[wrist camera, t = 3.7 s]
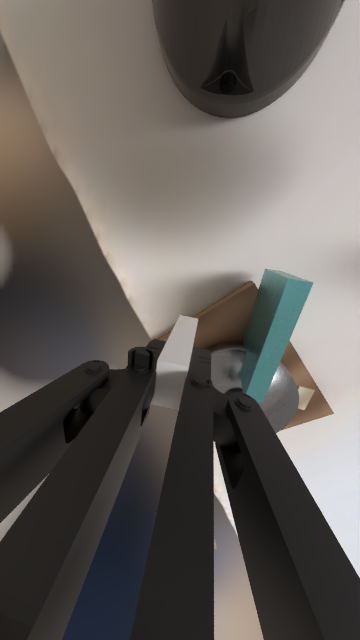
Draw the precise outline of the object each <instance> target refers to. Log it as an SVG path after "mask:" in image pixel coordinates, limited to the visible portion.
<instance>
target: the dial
mask: <svg viewBox="0 0 360 640" xmlns="http://www.w3.org/2000/svg"><path fill="white" fill-rule="evenodd" d="M312 285H313V282H310V281H307V280H304V279H302V278H299V277H296V276H293V275H290V274H287V273H285V272H282V271H276V270H270V269H265V271H264V274H263V278H262V281H261V284H260V287H259V290H258V293H257V297H256V300H255V303H254V306H253V309H252V313H251V316H250V319H249V322H248V325H247V328H246V332H245V335H244V338H243V341H236V340H235V341H226V342H221V343H217V344H214V345H212V346H210V347H208V348H206V349H207V350H209V352H210V353H211V381H212V383H213V386H214V387H215V388H216V389H217V390H218V391H220V392H221V393H223V394H225V395H227V396H230V394H232V393H234V392H241V393H245V394H247V395H249V396H251V397H252V398H254V399H255V400H256V401H257V403H258V404H259V405H260V407H261V409H262V411H263V412H264V414H265V416H266V417H267V419H268V421H269V423H270V424H271V426H272V428H273V430H274V431H275V433H277V432H279V431H280V430H282V429H283V428H284V427H285V426H287V425H288V424H289V423H290V421H291V420H292V419H293V417H294V416H295V414H296V412H297V409H298V405H299V392H298V388H297V385H296V383H295V381H294V379H293V378H292V376H291V374H290V373H289V371H288V369H287V368H286V366H285V364H284V363H283V362H282V360H281V358H282V356H283V354H284V351H285V349H286V347H287V344H288V342H289V339H290V337H291V335H292V332H293V330H294V328H295V325H296V323H297V320H298V318H299V316H300V313H301V311H302V309H303V306H304V304H305V301H306V299H307V297H308V294H309V292H310V290H311V287H312Z"/></svg>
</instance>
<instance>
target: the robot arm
mask: <svg viewBox="0 0 360 640" xmlns="http://www.w3.org/2000/svg"><path fill="white" fill-rule="evenodd" d="M344 1H345V0H152V3H153V11H154V18H155V23H156V28H157V32H158V36H159V40H160V44H161V48H162V52H163V55H164V59H165V62H166V65H167V67H168V70H169V72H170V74H171V76H172V78H173V80H174V82H175V84H176V85H177V87H178V88H179V90H180V91H181V93H182V94H183V95H184V96H185V97H186V98H187V99H188V100H189V101H190V102H191V103H192V104H193V105H195V106H196V107H197V108H199V109H201V110H203V111H204V112H207V113H209V114H212V115H215V116H220V117H238V116H243V115H247V114H251V113H253V112H256V111H258V110H260V109H262V108H264V107H266V106H268V105H269V104H271V103H272V102H274V101H275V100H277V99H278V98H279V97H281V96H282V95H283V94H284V93H285V92H286V91H288V90H289V89H290V88H291V87H292V86H293V85H294V84H295V82H296V81H297V80H298V79H299V78H300V77H301V76H302V74H303V73H304V72H305V71H306V69H307V68H308V67H309V65H310V64H311V62H312V61H313V59H314V58H315V56H316V55H317V53H318V51H319V50H320V48H321V46H322V44H323V42H324V40H325V39H326V37H327V35H328V33H329V31H330V29H331V27H332V25H333V24H334V22H335V20H336V18H337V16H338V14H339V12H340V10H341V8H342V6H343V3H344ZM197 323H198V319H197V318H192V317H187V316H182V315H180V316H179V318H178V320H177V322H176V324H175V326H174V328H173V330H172V332H171V334H170V336H169V338H168V340H167V341H162V340H158V339H154V340H152V341H150V342H149V344H148V345H147V347H135V348H132V349H131V350H129V352H128V366H127V367H126V369H119V370H112V369H109V366H108V364H107V363H106V362H104V361H100V360H93V361H88V362H85V363H83V364H81V365H80V366H78V367H76V368H75V369H73V370H71V371H70V372H68V373H66V374H64V375H63V376H61V377H59V378H58V379H56V380H54V381H53V382H51V383H49V384H48V385H46V386H44V387H43V388H41V389H39V390H37V391H36V392H34V393H33V394H31V395H29V396H27V397H25V398H24V399H22V400H20V401H19V402H17V403H15V404H14V405H12V406H10V407H9V408H7V409H5V410H3V411H2V412H0V523H1V522H2V521H3V520H4V519H5V518H6V517H7V516H8V515H9V514H10V513H11V512H12V511H13V510H14V508H16V507H17V506H18V505H19V504H20V503H21V501H23V500H24V498H25V497H26V496H27V495H28V494H29V493H30V492H31V491H32V490H33V489H34V488H35V487H36V486H37V485H38V484H39V483H40V482H41V481H42V480H43V479H44V478H45V477H46V476H47V475H48V474H49V473H50V474H49V475H48V476H47V478H46V479H45V481H44V482H43V483H42V485H41V486H40V488H39V489H38V490H37V492H36V493H35V494H34V496H33V497H32V499H31V500H30V501H29V503H28V504H27V506H26V507H25V509H24V510H23V511H22V512H21V514H20V515H19V517H18V518H17V519H16V521H15V522H14V524H13V525H12V526H11V528H10V529H9V530H8V532H7V533H6V535H5V536H4V538H3V539H2V540H1V541H0V640H61V639H62V637H63V634H64V632H65V629H66V626H67V624H68V621H69V619H70V616H71V614H72V611H73V608H74V606H75V603H76V600H77V598H78V595H79V593H80V590H81V587H82V585H83V582H84V580H85V577H86V575H87V572H88V569H89V567H90V564H91V562H92V559H93V556H94V554H95V551H96V549H97V546H98V543H99V541H100V538H101V536H102V533H103V530H104V528H105V525H106V523H107V520H108V517H109V515H110V512H111V510H112V507H113V504H114V502H115V499H116V496H117V494H118V491H119V489H120V486H121V484H122V481H123V478H124V476H125V473H126V471H127V468H128V465H129V463H130V460H131V458H132V455H133V452H134V450H135V447H136V445H137V442H138V440H139V436H140V434H141V432H142V429H143V426H144V424H145V421H146V419H147V416H148V413H149V408H150V403H151V401H152V404H155V405H158V406H163V407H166V408H171V409H175V410H179V411H178V416H177V421H176V425H175V430H174V435H173V439H172V444H171V449H170V453H169V458H168V463H167V468H166V472H165V477H164V482H163V486H162V491H161V496H160V500H159V505H158V510H157V515H156V519H155V525H154V529H153V533H152V538H151V543H150V547H149V553H148V557H147V562H146V567H145V571H144V576H143V580H142V585H141V590H140V595H139V600H138V604H137V609H136V613H135V618H134V623H133V627H132V632H131V637H130V640H214V518H213V517H214V507H213V506H214V500H213V499H214V474H213V441H215V445H216V449H217V453H218V457H219V461H220V465H221V469H222V473H223V477H224V481H225V485H226V490H227V494H228V498H229V502H230V506H231V510H232V514H233V518H234V522H235V526H236V530H237V534H238V538H239V542H240V546H241V550H242V553H243V558H244V561H245V566H246V570H247V573H248V578H249V581H250V586H251V590H252V594H253V597H254V602H255V606H256V610H257V614H258V618H259V622H260V625H261V630H262V634H263V638H264V640H360V578H359V576H358V575H357V573H356V571H355V569H354V568H353V566H352V564H351V563H350V561H349V559H348V557H347V556H346V554H345V552H344V550H343V549H342V547H341V545H340V544H339V542H338V540H337V538H336V537H335V535H334V533H333V531H332V530H331V528H330V526H329V525H328V523H327V521H326V519H325V518H324V516H323V514H322V512H321V511H320V509H319V507H318V506H317V504H316V502H315V500H314V499H313V497H312V495H311V493H310V492H309V490H308V488H307V487H306V485H305V483H304V481H303V480H302V478H301V476H300V474H299V473H298V471H297V469H296V468H295V466H294V464H293V462H292V461H291V459H290V457H289V455H288V454H287V452H286V450H285V449H284V447H283V445H282V443H281V442H280V440H279V438H278V436H277V435H276V433H275V431H274V430H273V428H272V426H271V424H270V423H269V421H268V419H267V417H266V416H265V414H264V412H263V411H262V409H261V407H260V405H259V404H258V403H257V401H256V400H255V399H254V398H252V397H251V396H249V395H247V394H245V393H241V392H234V393H232V394H230V396H227V395H225V394H223V393H221V392H220V391H218V390H217V389H216V388H215V387H214V386H213V383H212V381H211V353H210V352H209V350H207V349H202V348H198V347H193V343H194V338H195V333H196V328H197ZM152 398H153V399H152Z"/></svg>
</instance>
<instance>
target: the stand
mask: <svg viewBox="0 0 360 640" xmlns="http://www.w3.org/2000/svg"><path fill="white" fill-rule="evenodd" d="M257 293H258V289H257V287H256V285H255V284H254V283H253V282H252V281H250V282H249V283H247V284H245V285H244V286H242V287H241V288H239V289H237V290H236V291H234V292H233V293H231V294H229V295H228V296H226V297H225V298H223V299H221V300H220V301H218V302H217V303H215V304H213V305H212V306H210V307H209V308H207V309H205V310H204V311H202V312H200V313H199V314H197V315H196V316H194V317H192V318H197V319H198V323H197V328H196V333H195V338H194V343H193V347H198V348H202V349H206V348H208V347H210V346H212V345H214V344H217V343H221V342H226V341H235V340H236V341H243V338H244V335H245V332H246V328H247V325H248V322H249V319H250V316H251V313H252V309H253V306H254V303H255V300H256V297H257ZM171 332H172V331H170V332H168V333H167V334H165V335H164V336H162V337H160V338H159V339H158V340H162V341H167V340H168V338H169V336H170V334H171ZM146 347H147V346H146ZM281 360H282V362H283V363H284V364H285V366H286V368H287V369H288V371H289V373H290V374H291V376H292V378H293V379H294V381H295V383H296V385H297V388H298V392H299V405H298V409H297V412H296V414H295V416H294V417H293V419H292V420H291V421H290V423H289V424H288V425H287V426H285V427H284V428H283V429H282V430H284V429H287V428H290V427H293V426H296V425H299V424H303V423H306V422H309V421H312V420H315V419H319V418H322V417H325V416H328V415H331V414H334V413H333V411H332V409H331V408H330V406H329V404H328V403H327V401H326V400H325V398H324V396H323V395H322V393H321V391H320V390H319V388H318V386H317V385H316V383H315V382H314V380H313V378H312V377H311V375H310V373H309V372H308V370H307V369H306V367H305V365H304V364H303V362H302V360H301V359H300V357H299V356H298V354H297V352H296V351H295V349H294V347H293V346H292V344H291V342H290V341H289V342H288V344H287V347H286V349H285V351H284V354H283V356H282V358H281Z"/></svg>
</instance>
